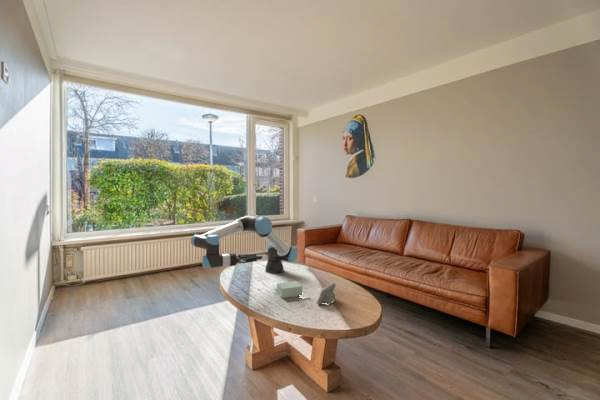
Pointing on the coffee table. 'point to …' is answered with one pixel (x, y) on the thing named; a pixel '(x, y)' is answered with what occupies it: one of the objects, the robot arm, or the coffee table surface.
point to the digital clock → (327, 294)
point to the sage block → (289, 289)
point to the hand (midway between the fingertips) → (266, 256)
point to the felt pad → (292, 298)
